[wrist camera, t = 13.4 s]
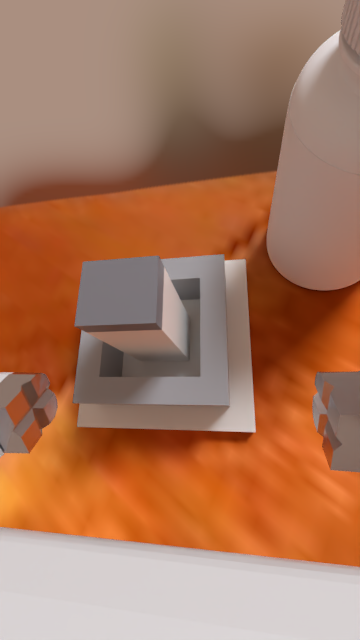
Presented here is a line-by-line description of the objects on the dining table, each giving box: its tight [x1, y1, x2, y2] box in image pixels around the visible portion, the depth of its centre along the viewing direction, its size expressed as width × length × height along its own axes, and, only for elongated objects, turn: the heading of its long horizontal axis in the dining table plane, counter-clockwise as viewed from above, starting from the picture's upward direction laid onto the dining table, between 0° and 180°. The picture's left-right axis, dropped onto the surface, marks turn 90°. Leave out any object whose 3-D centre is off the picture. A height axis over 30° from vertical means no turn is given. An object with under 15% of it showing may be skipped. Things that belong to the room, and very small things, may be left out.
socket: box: [73, 254, 256, 432], centre depth 19 cm, size 12×12×4 cm
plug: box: [75, 256, 190, 361], centre depth 16 cm, size 4×3×9 cm
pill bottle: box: [267, 0, 360, 291], centre depth 15 cm, size 8×8×15 cm
